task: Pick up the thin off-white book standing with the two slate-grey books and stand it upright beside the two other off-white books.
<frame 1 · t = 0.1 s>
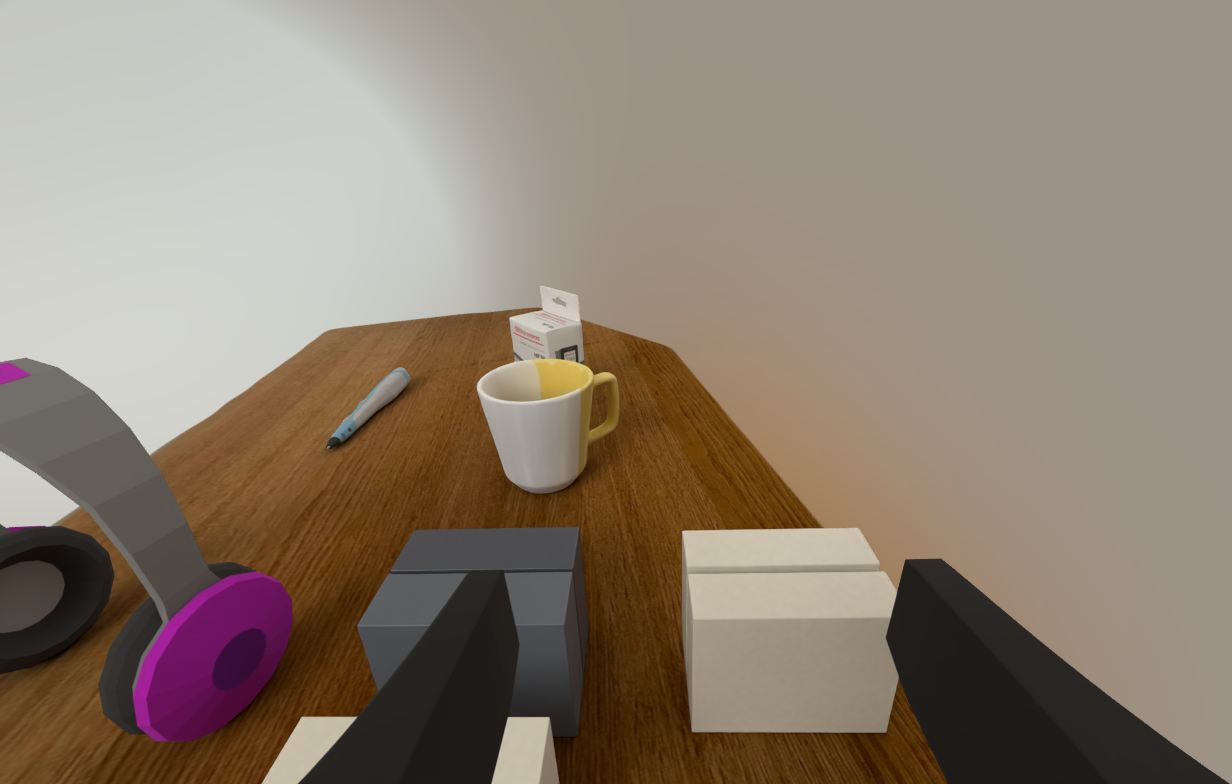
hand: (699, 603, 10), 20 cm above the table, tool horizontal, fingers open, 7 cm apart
white book a: (781, 706, 29), on the table
mug: (564, 475, 52), on the table
headphones: (138, 674, 33), on the table
grey book 1: (492, 706, 30), on the table
grey book 2: (507, 649, 33), on the table
pen: (374, 415, 67), on the table
ink box: (554, 413, 65), on the table
white book b: (766, 651, 32), on the table
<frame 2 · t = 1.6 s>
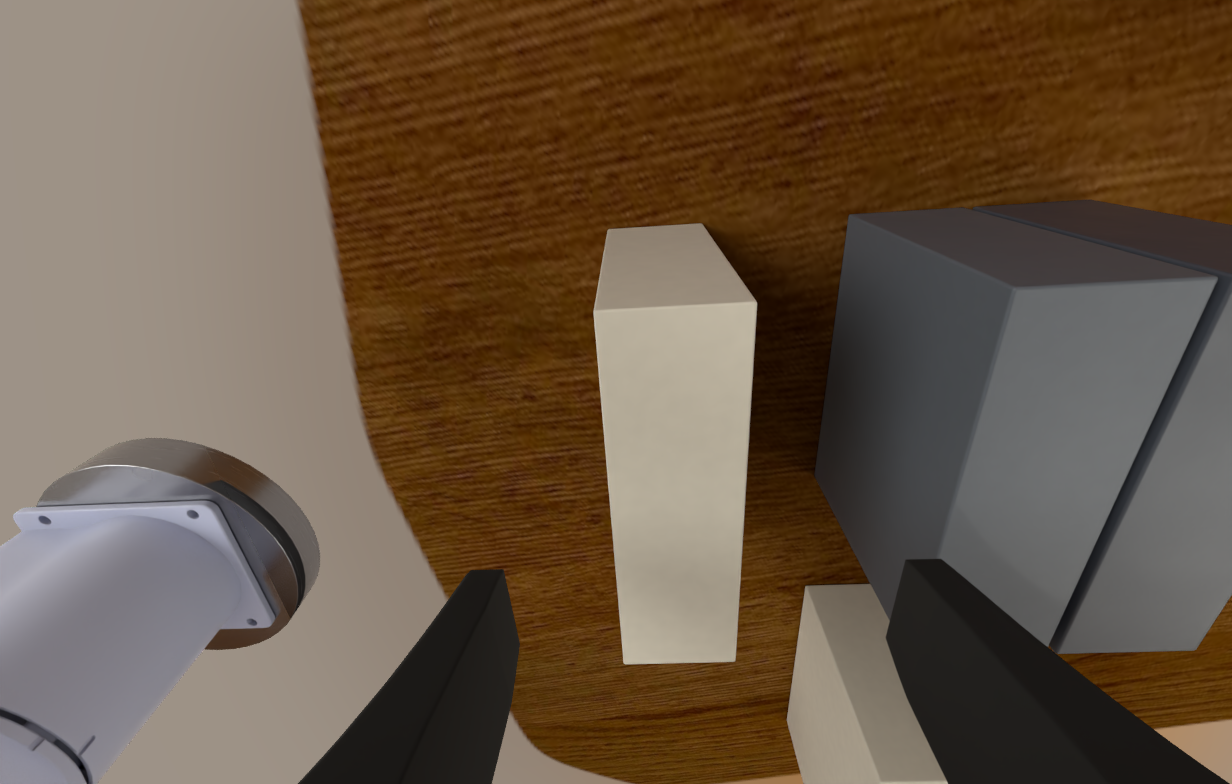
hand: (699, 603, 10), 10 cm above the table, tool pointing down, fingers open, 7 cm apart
white book a: (825, 657, 26), on the table
grey book 1: (879, 358, 19), on the table
grey book 2: (988, 353, 19), on the table
white book: (658, 369, 19), on the table
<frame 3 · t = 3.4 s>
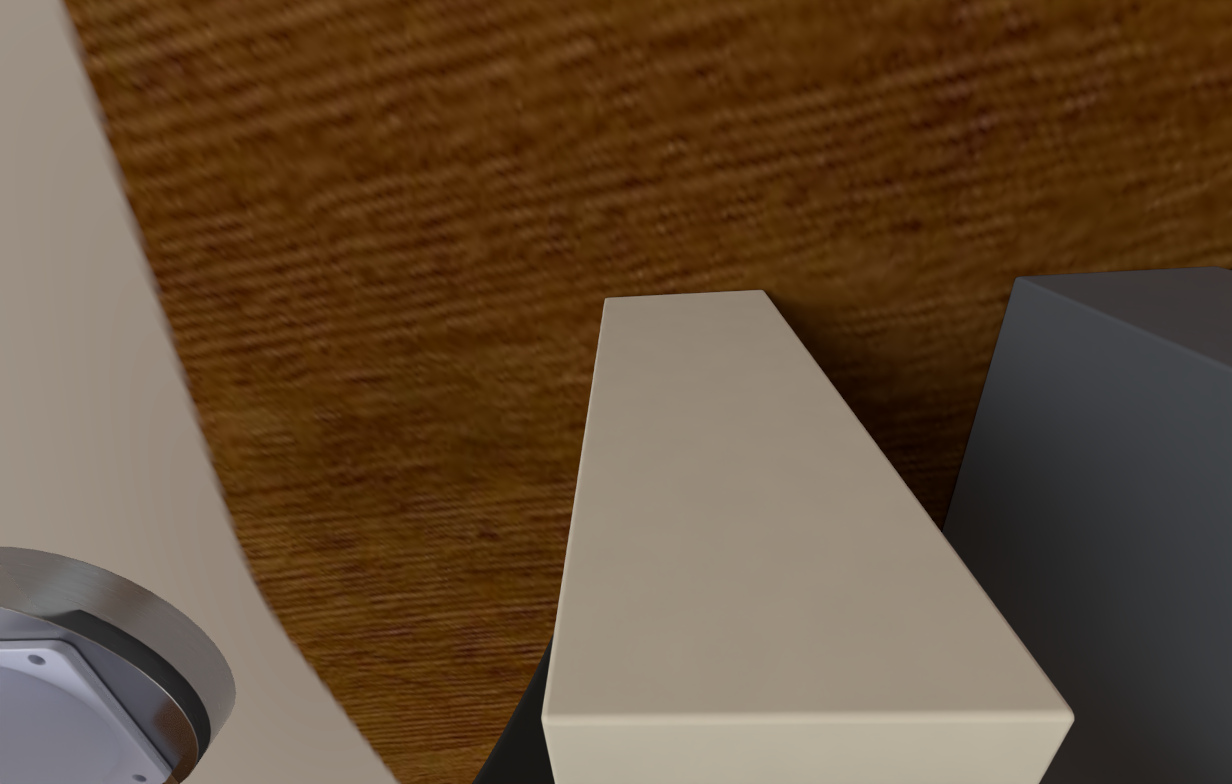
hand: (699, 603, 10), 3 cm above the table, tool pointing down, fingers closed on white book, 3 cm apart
grey book 1: (1032, 490, 12), on the table
white book: (684, 501, 12), on the table, touching gripper
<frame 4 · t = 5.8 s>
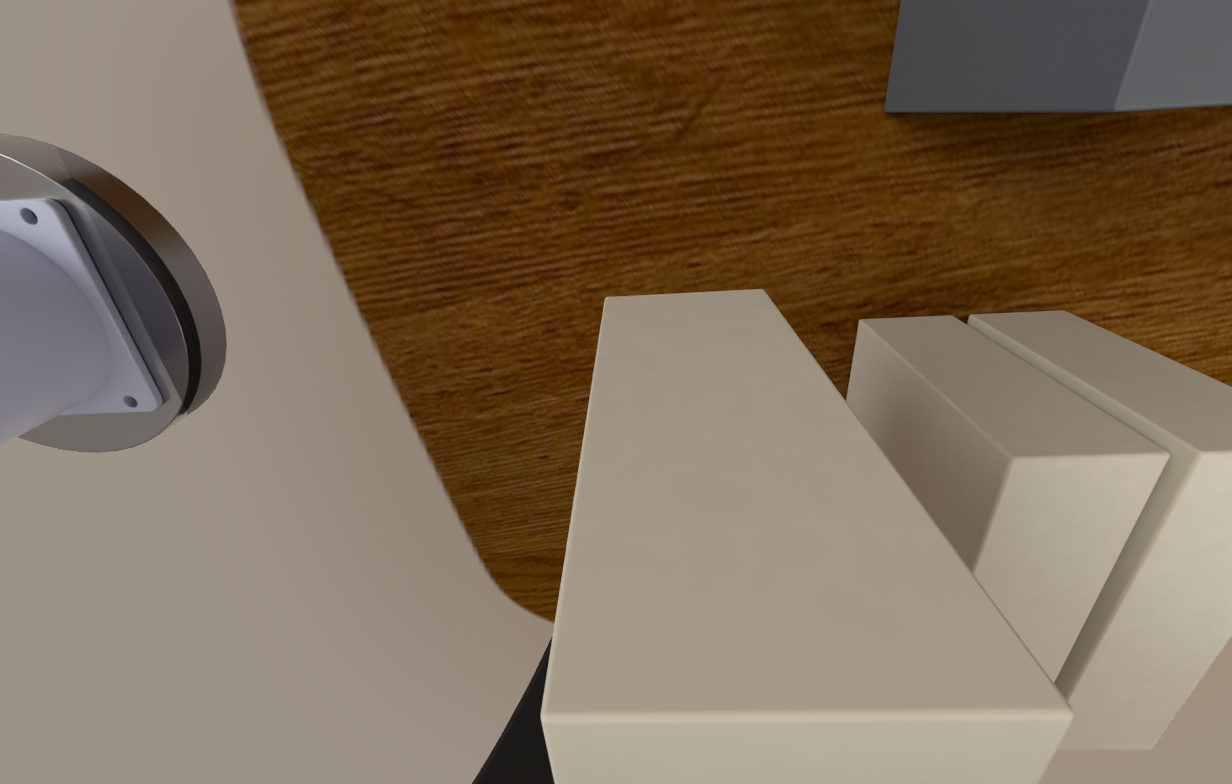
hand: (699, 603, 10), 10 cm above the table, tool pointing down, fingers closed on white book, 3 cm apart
white book a: (879, 444, 20), on the table
white book: (684, 501, 12), point 7 cm above the table, touching gripper
white book b: (976, 441, 20), on the table
when the fingers open (3 cm above the table, at t = 8.5 s): white book stays where it is, on the table.
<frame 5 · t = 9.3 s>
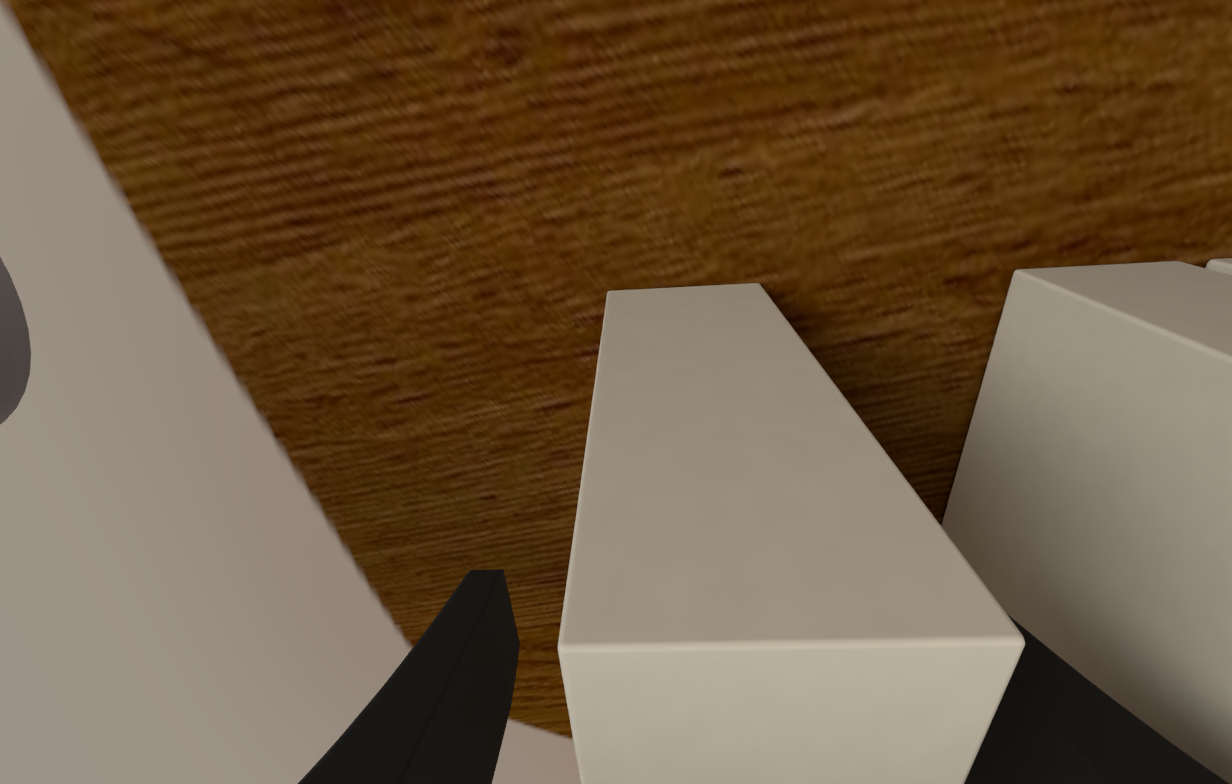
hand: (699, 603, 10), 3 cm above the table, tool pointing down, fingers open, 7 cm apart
white book a: (1019, 478, 12), on the table
white book: (683, 489, 13), on the table
white book b: (1177, 473, 12), on the table
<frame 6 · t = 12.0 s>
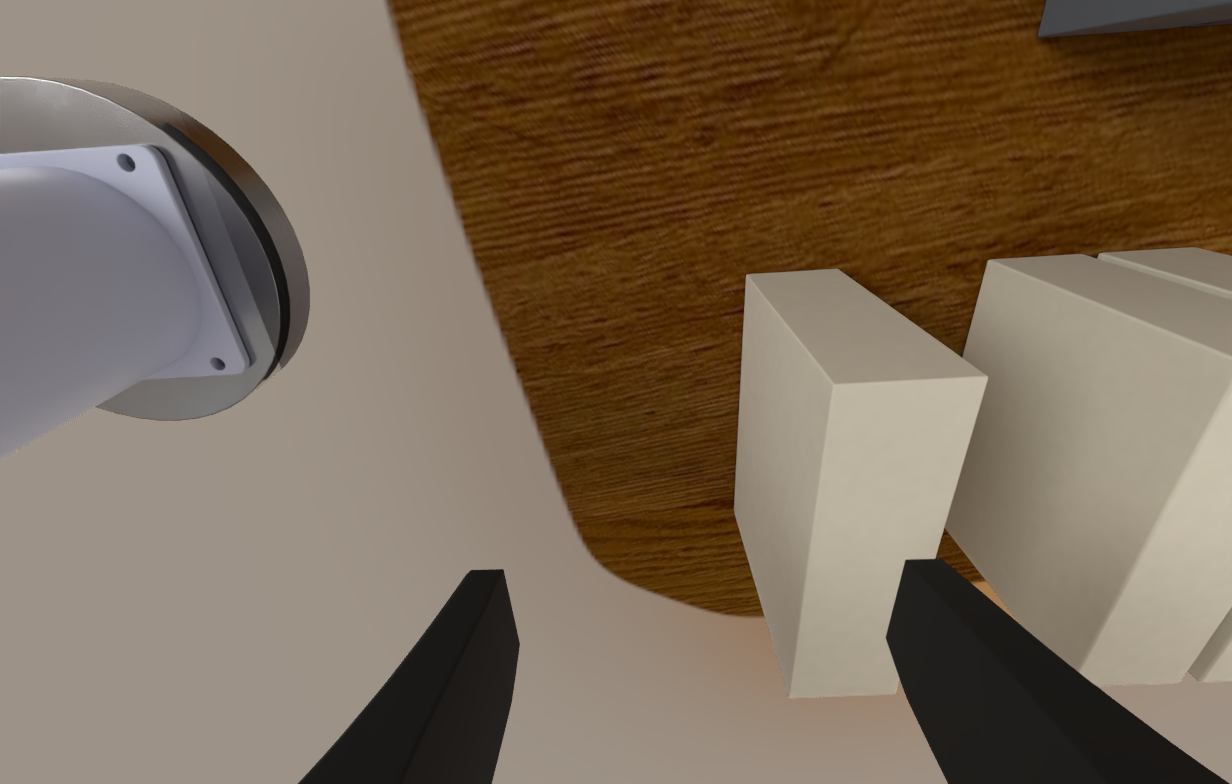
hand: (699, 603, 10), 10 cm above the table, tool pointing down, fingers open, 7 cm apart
white book a: (992, 392, 19), on the table
white book: (779, 404, 20), on the table
white book b: (1090, 387, 19), on the table
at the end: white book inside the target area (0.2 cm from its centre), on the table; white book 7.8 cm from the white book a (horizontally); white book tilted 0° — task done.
